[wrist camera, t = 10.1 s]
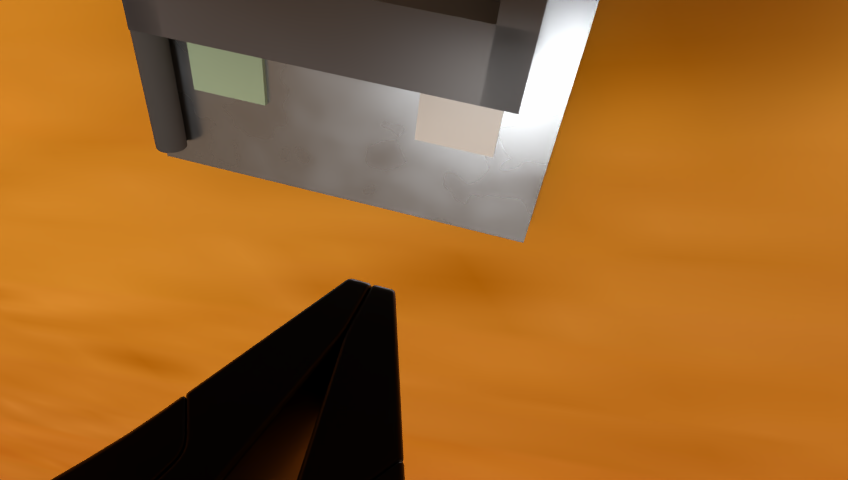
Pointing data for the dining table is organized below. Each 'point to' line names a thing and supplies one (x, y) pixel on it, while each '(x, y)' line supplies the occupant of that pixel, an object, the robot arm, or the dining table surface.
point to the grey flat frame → (160, 91)
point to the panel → (390, 136)
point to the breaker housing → (366, 52)
